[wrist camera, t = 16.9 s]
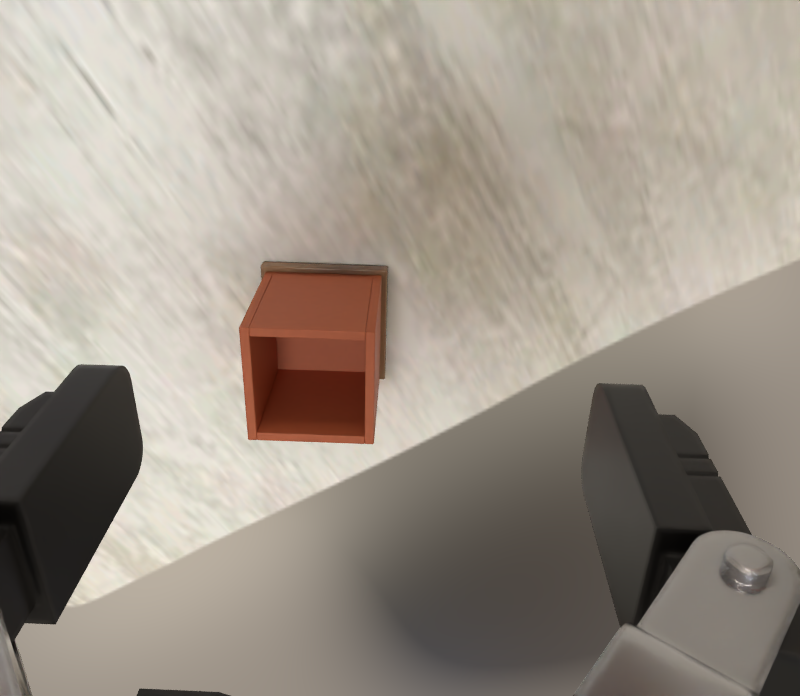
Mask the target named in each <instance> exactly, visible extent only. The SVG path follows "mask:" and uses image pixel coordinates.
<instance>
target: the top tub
mask: <svg viewBox="0 0 800 696" xmlns="http://www.w3.org/2000/svg"><path fill="white" fill-rule="evenodd" d="M381 279H382V276H381V275H352V274H323V273H294V272H265V275H264V277H263V279H262V281H261V283H260V285H259V287H258V289H257V291H256V293H255V296H254V298H253V300H252V302H251V304H250V306H249V308H248V310H247V312H246V315H245V317H244V319H243V321H242V323H241V325H240V327H239V333H240V345H241V357H242V370H243V382H244V394H245V406H246V418H247V430H248V439H249V440H257V439H258V440H273V441H302V442H330V443H358V444H364V443H365V444H373V443H374V434H375V423H376V411H377V400H378V389H379V377H380V332H381Z"/></svg>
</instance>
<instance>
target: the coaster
mask: <svg viewBox="0 0 800 696" xmlns="http://www.w3.org/2000/svg"><path fill="white" fill-rule="evenodd" d="M265 272H294V273H323V274H352V275H381V276H382V279H381V332H380V377H379V379H385V360H386V317H387V275H388V267H387V266H365V265H337V264H309V263H281V262H263V263H262V265H261V278H262V279H263V277H264V275H265Z"/></svg>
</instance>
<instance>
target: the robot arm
mask: <svg viewBox="0 0 800 696" xmlns="http://www.w3.org/2000/svg"><path fill="white" fill-rule="evenodd" d="M142 454H143V442H142V436H141V430H140V425H139V419H138V414H137V409H136V403H135V398H134V393H133V387H132V382H131V377H130V374H129V372H128V370H127V369H126V367H124V366H113V365H84V364H81V365H78V366H76V367H75V368H74V369H73V370H72V371H71V373H70V374H69V375H68V376H67V377H66V378H65V380H64V381H63V382H62V383H61V384H60V386H59V387H58V388H57V389H56V390H55V392H44V393H43V394H41V395H40V396H38V397H36V398H35V399H33V400H31V401H30V402H28V403H26V404H25V405H23V406H22V407H20V408H19V409H18V410H17V411H16V412H15V413H14V414H13V415H12V416H11V418H10V419H9V420H8V421H7V422H6V423H5V424H4V426H3V427H2V431H1V432H0V696H32V693H31V690H30V686H29V683H28V680H27V676H26V673H25V670H24V666H23V663H22V659H21V656H20V653H19V649H18V647H17V644H16V641H15V638H16V636H17V635H18V633H19V631H20V630H21V628H22V626H23V625H24V623H36V624H56V622H57V621H58V619H59V617H60V615H61V613H62V611H63V610H64V608H65V606H66V604H67V602H68V601H69V599H70V597H71V595H72V593H73V592H74V590H75V588H76V586H77V584H78V583H79V581H80V579H81V577H82V575H83V573H84V572H85V570H86V568H87V566H88V564H89V563H90V561H91V559H92V557H93V555H94V553H95V552H96V550H97V548H98V546H99V544H100V543H101V541H102V539H103V537H104V535H105V533H106V532H107V530H108V528H109V526H110V524H111V523H112V521H113V519H114V517H115V515H116V514H117V512H118V510H119V508H120V506H121V504H122V503H123V501H124V499H125V497H126V495H127V494H128V492H129V490H130V488H131V486H132V484H133V483H134V481H135V479H136V477H137V475H138V473H139V470H140V466H141V462H142ZM582 488H583V493H584V497H585V501H586V505H587V508H588V512H589V516H590V519H591V523H592V527H593V530H594V533H595V537H596V541H597V545H598V548H599V552H600V556H601V559H602V563H603V566H604V570H605V574H606V577H607V581H608V585H609V588H610V592H611V595H612V599H613V603H614V607H615V610H616V614H617V617H618V621H619V625H620V629H619V630H618V632H617V633H616V634H615V636H614V637H613V639H612V640H611V642H610V643H609V645H608V646H607V647H606V649H605V650H604V652H603V653H602V655H601V656H600V658H599V659H598V660H597V662H596V663H595V665H594V666H593V668H592V669H591V671H590V672H589V673H588V675H587V676H586V678H585V679H584V681H583V682H582V684H581V685H580V686H579V688H578V689H577V691H576V692H575V694H574V695H573V696H800V569H799V568H798V566H797V565H796V564H795V562H794V561H793V560H792V559H791V558H790V557H789V556H788V555H787V554H785V553H784V552H783V551H782V550H780V549H779V548H777V547H776V546H774V545H773V544H771V543H769V542H767V541H765V540H763V539H761V538H758V537H756V536H753V535H752V534H751V533H750V531H749V529H748V527H747V525H746V523H745V521H744V520H743V518H742V516H741V514H740V512H739V510H738V508H737V507H736V505H735V503H734V501H733V499H732V497H731V495H730V494H729V492H728V490H727V488H726V486H725V484H724V482H723V481H722V479H721V477H718V471H717V470H716V468H715V466H714V464H713V462H712V460H711V459H709V458H708V453H707V451H706V449H705V447H704V445H703V444H702V442H701V440H700V438H699V436H698V434H697V433H696V432H695V431H693V430H692V429H691V428H690V427H689V426H687V425H686V424H685V423H684V422H683V421H681V420H680V419H679V418H677V417H676V416H675V415H659V414H658V413H657V411H656V409H655V407H654V405H653V403H652V401H651V398H650V396H649V394H648V392H647V390H646V388H645V387H644V386H643V385H634V384H605V383H604V384H603V383H599V384H597V385H596V387H595V390H594V393H593V399H592V404H591V410H590V416H589V422H588V427H587V433H586V439H585V445H584V451H583V457H582ZM137 696H230V695H226V694H223V693H220V692H202V691H180V690H179V691H178V690H159V689H139V691H138V694H137Z"/></svg>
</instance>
